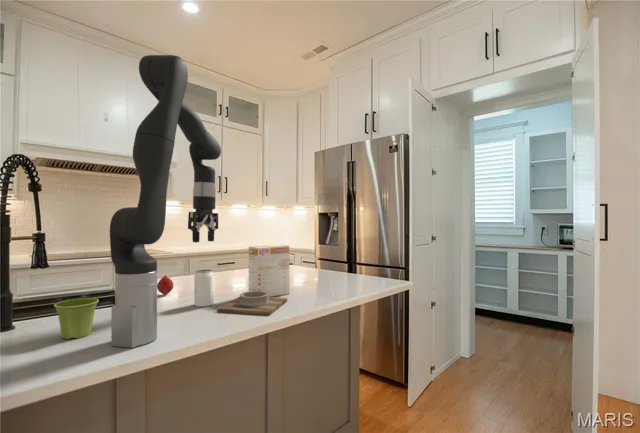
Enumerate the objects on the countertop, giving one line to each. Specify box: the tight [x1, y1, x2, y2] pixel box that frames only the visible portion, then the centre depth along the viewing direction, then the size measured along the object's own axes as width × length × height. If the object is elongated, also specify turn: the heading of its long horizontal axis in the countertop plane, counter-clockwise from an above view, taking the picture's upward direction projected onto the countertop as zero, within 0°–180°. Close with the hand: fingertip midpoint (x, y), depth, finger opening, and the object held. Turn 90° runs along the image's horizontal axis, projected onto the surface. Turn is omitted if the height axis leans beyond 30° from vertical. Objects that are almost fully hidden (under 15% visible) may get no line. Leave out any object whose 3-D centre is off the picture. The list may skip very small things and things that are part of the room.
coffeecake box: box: [248, 244, 290, 297], centre depth 132 cm, size 15×7×20 cm, turn 126°
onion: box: [157, 274, 174, 296], centre depth 131 cm, size 6×6×8 cm
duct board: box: [216, 290, 288, 316], centre depth 115 cm, size 18×18×4 cm
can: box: [193, 269, 215, 308], centre depth 117 cm, size 6×6×12 cm
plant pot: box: [53, 297, 100, 340], centre depth 87 cm, size 9×9×9 cm
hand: (203, 241), depth 117 cm, fingers open, 8 cm apart
